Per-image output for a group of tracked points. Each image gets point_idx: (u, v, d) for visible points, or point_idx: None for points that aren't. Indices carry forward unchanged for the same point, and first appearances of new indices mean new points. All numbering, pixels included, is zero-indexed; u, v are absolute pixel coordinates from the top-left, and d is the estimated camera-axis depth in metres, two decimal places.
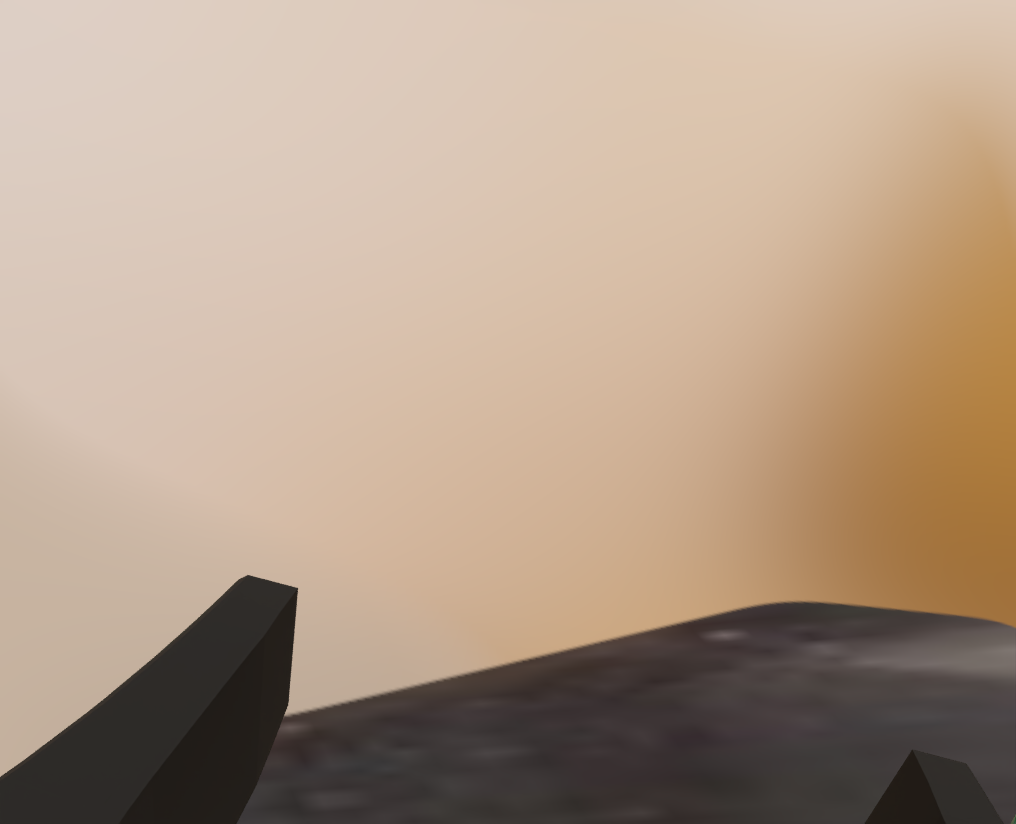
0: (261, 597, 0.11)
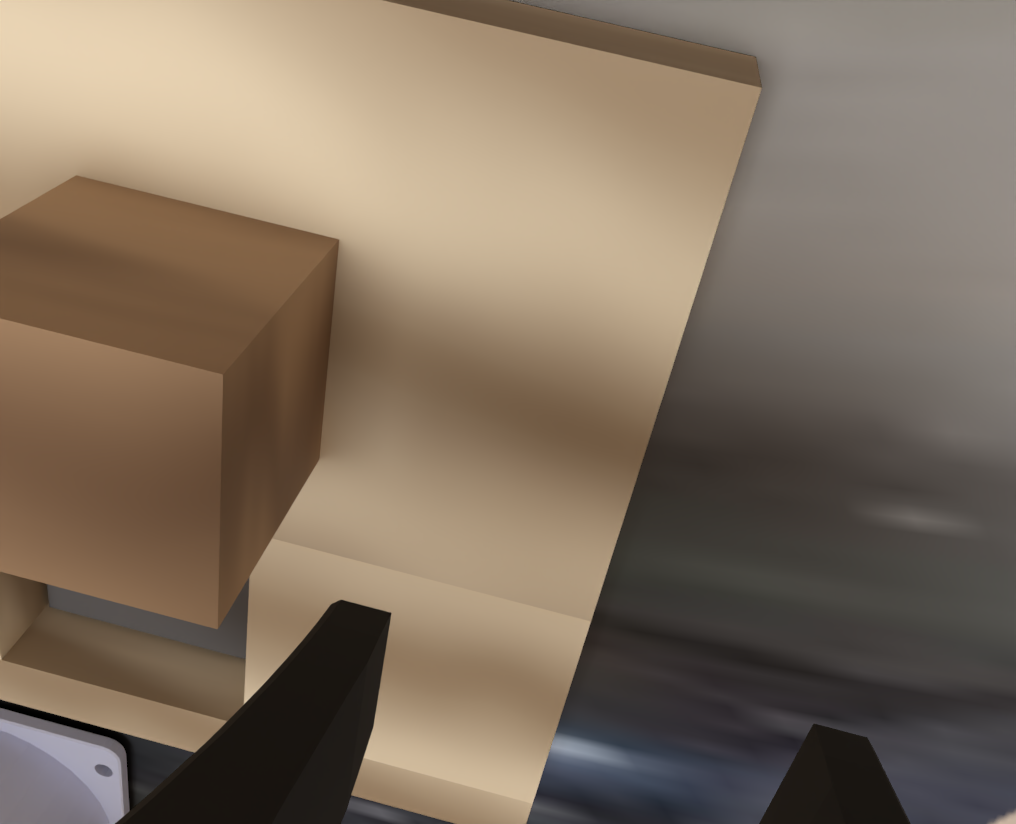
0: (358, 623, 0.10)
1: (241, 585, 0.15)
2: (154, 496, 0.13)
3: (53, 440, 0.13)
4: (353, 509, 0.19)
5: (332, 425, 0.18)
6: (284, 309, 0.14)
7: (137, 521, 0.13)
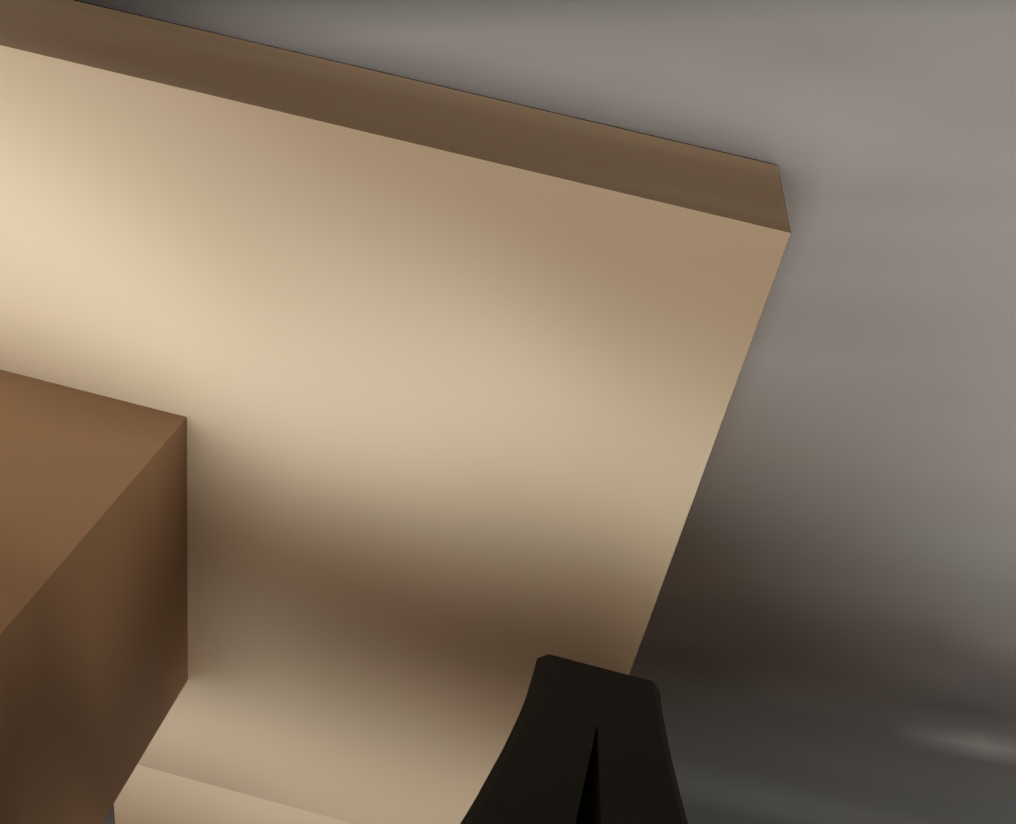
0: (574, 680, 0.10)
1: None
2: None
3: None
4: (237, 738, 0.14)
5: (200, 640, 0.13)
6: (71, 560, 0.09)
7: None
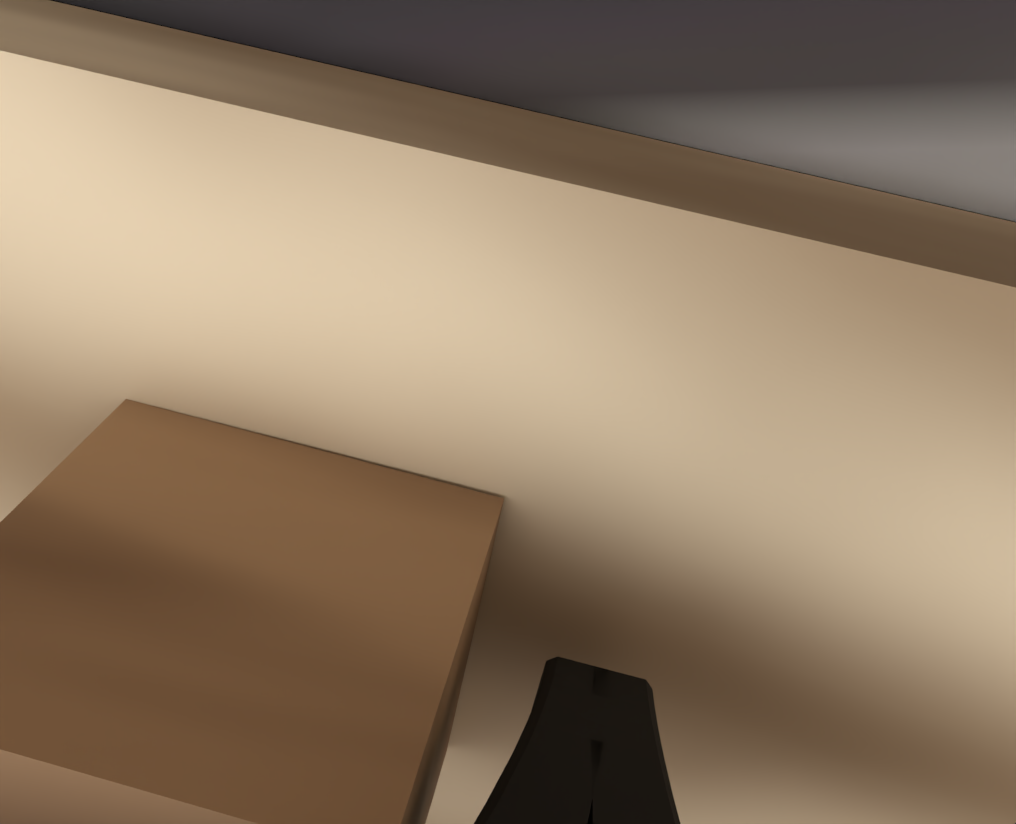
0: (583, 682, 0.10)
1: None
2: None
3: None
4: None
5: None
6: (452, 662, 0.09)
7: None
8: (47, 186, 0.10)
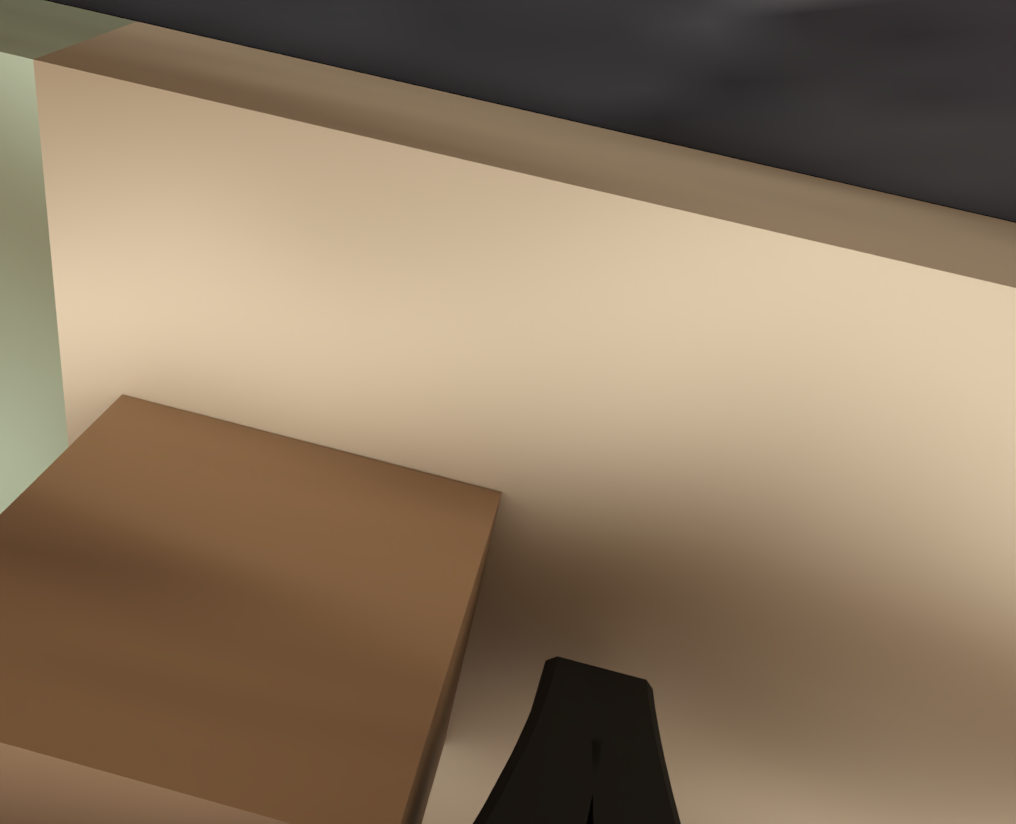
0: (582, 681, 0.10)
1: None
2: None
3: None
4: None
5: None
6: (452, 655, 0.09)
7: None
8: None
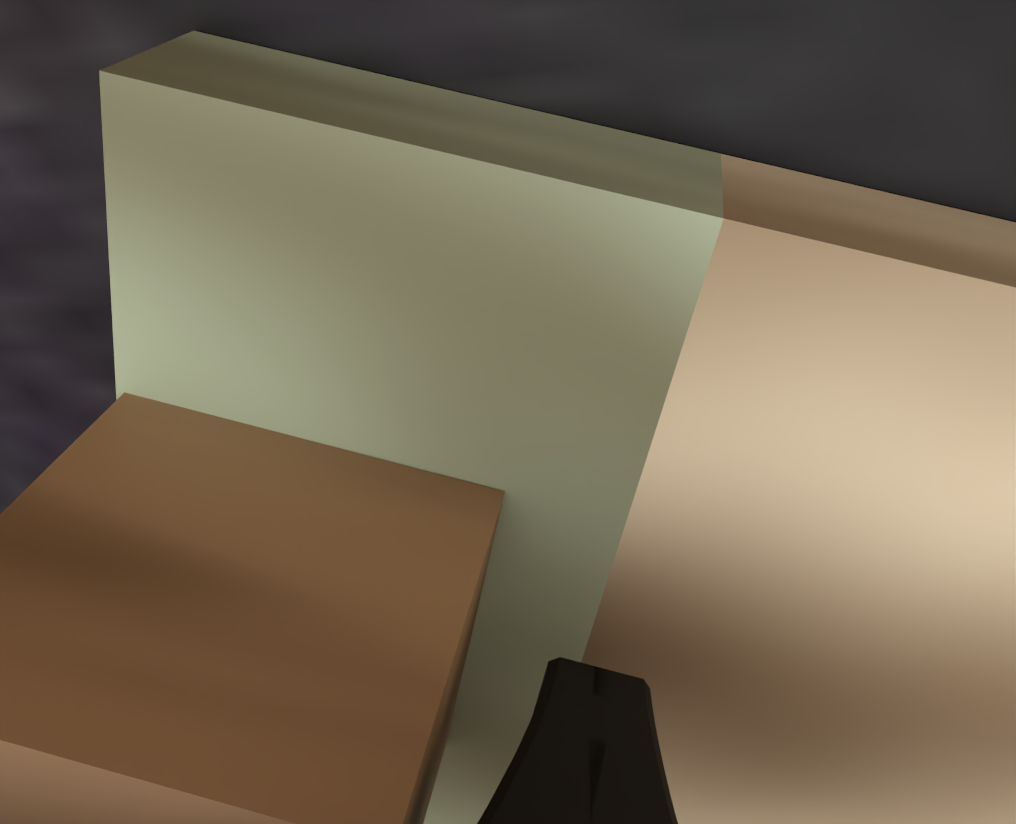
0: (585, 682, 0.10)
1: None
2: None
3: None
4: None
5: None
6: (454, 655, 0.09)
7: None
8: None
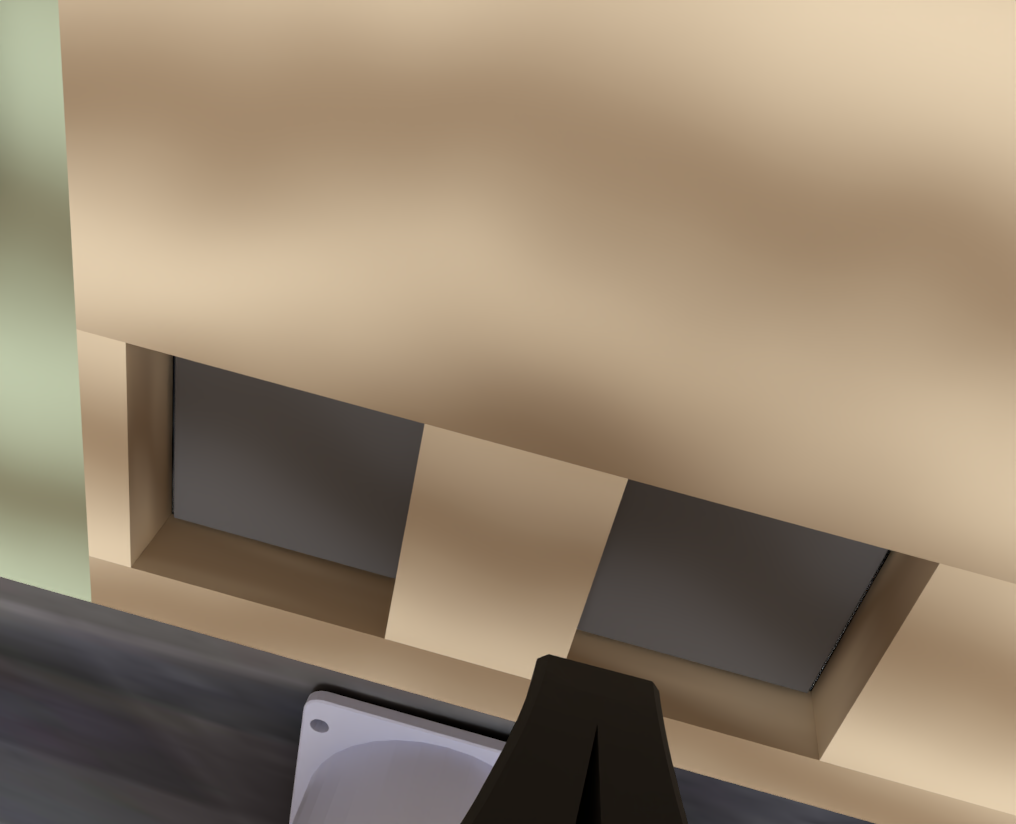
0: (574, 679, 0.10)
1: None
2: None
3: None
4: None
5: None
6: None
7: None
8: None
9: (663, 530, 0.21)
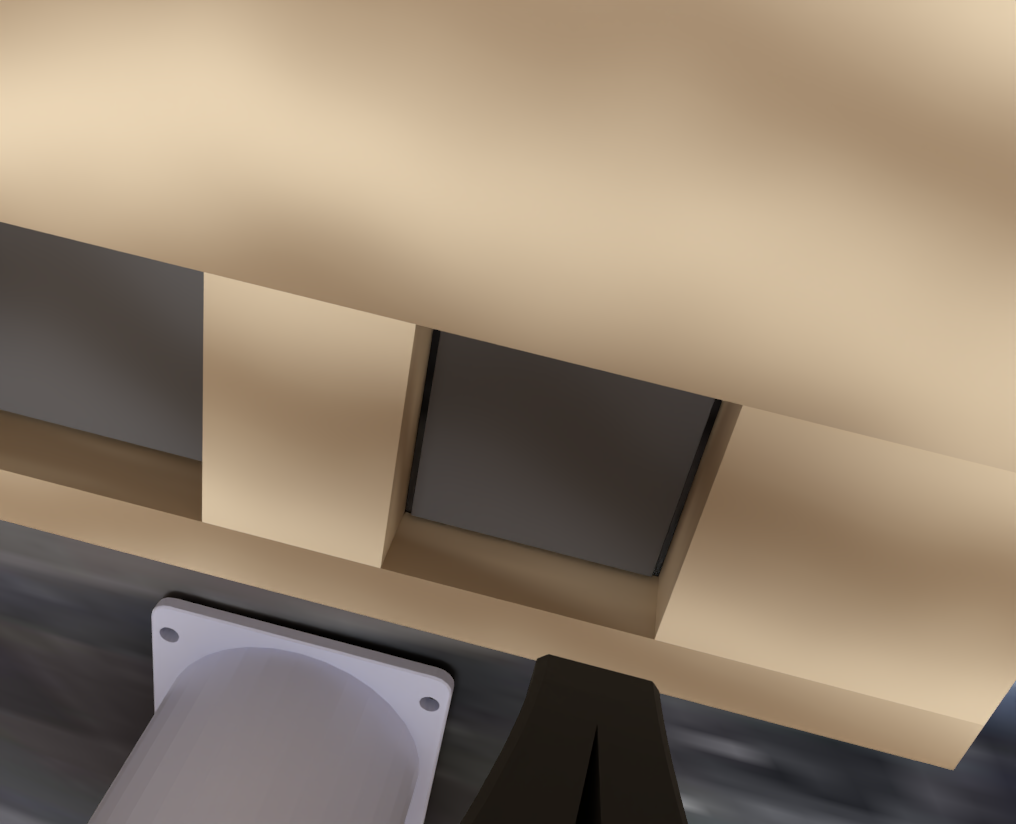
0: (574, 680, 0.10)
1: None
2: None
3: None
4: (882, 372, 0.16)
5: (891, 266, 0.15)
6: None
7: None
8: None
9: (481, 397, 0.20)
